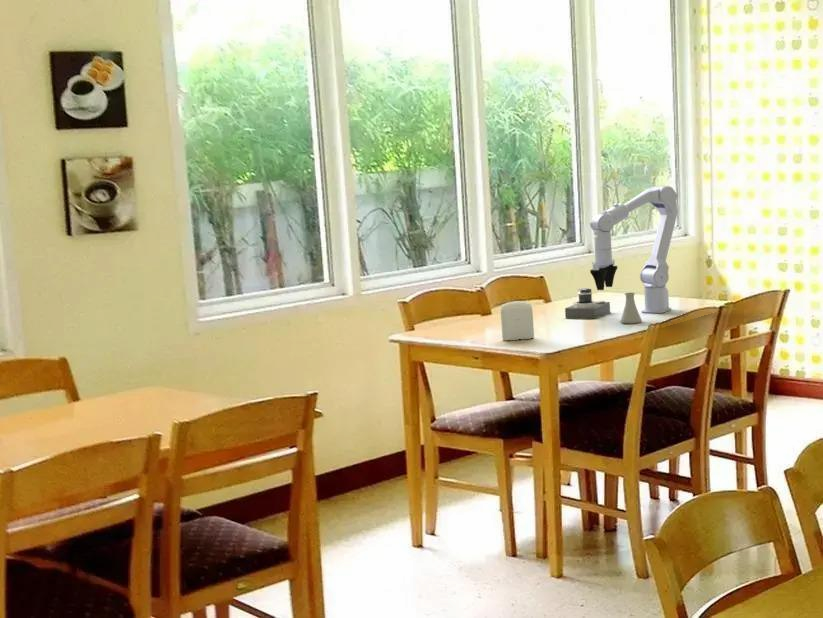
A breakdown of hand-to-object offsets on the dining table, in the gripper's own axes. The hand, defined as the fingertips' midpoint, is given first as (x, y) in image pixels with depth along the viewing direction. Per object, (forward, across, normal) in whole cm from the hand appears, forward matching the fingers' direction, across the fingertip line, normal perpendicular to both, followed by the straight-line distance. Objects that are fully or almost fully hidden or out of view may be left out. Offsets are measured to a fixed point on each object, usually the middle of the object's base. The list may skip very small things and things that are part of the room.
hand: (604, 288), depth 422 cm
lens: (+7, -3, -9) cm, 12 cm away
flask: (+11, +7, +12) cm, 18 cm away
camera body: (+10, -5, -9) cm, 15 cm away
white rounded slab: (+11, +44, -12) cm, 47 cm away
